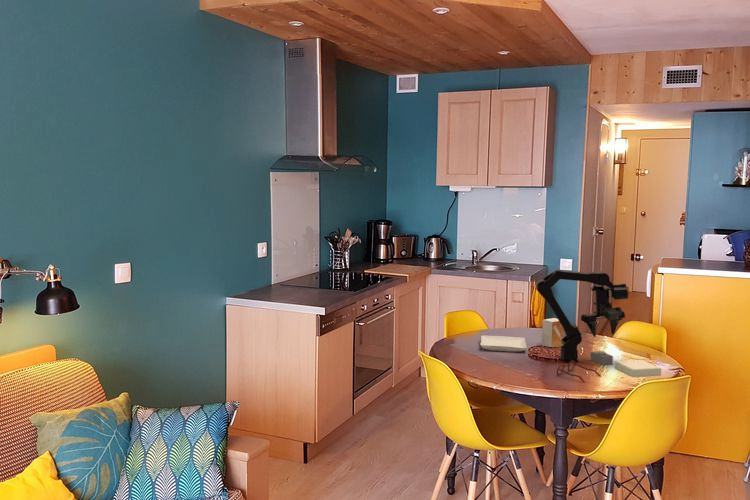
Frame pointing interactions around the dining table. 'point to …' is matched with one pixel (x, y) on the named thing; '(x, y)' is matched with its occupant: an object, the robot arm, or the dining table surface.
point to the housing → (601, 358)
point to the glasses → (572, 369)
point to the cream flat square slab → (503, 343)
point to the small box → (552, 333)
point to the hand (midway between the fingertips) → (603, 335)
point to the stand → (637, 368)
